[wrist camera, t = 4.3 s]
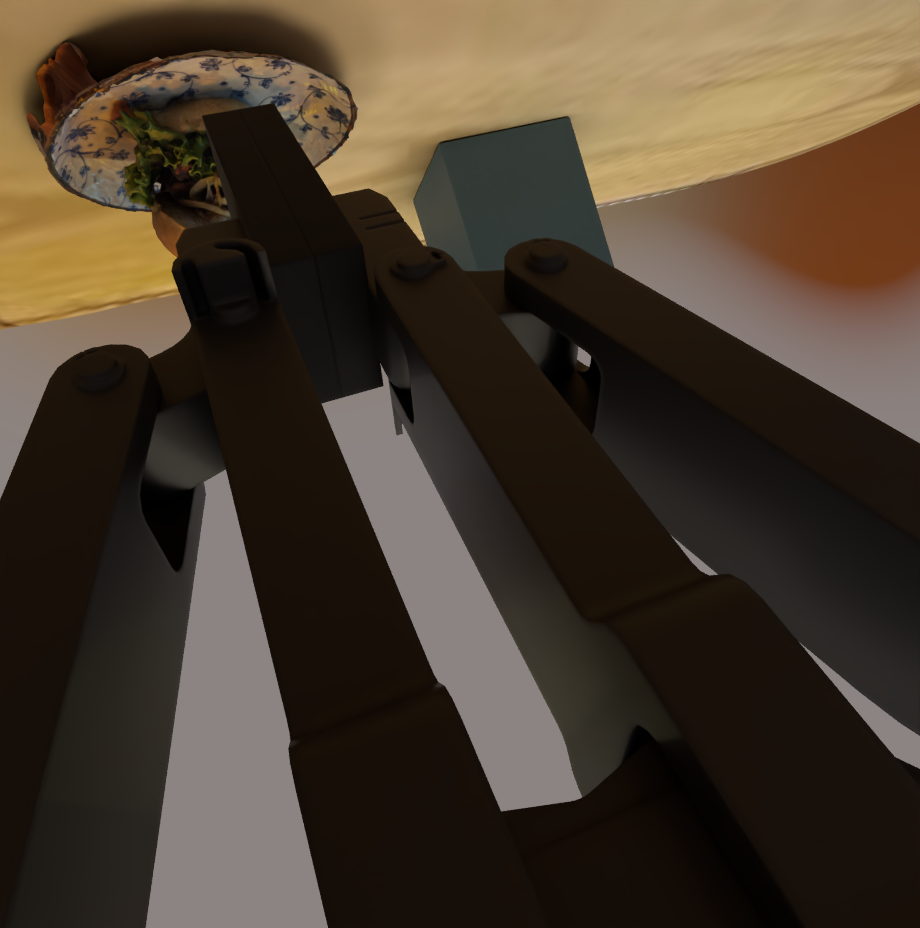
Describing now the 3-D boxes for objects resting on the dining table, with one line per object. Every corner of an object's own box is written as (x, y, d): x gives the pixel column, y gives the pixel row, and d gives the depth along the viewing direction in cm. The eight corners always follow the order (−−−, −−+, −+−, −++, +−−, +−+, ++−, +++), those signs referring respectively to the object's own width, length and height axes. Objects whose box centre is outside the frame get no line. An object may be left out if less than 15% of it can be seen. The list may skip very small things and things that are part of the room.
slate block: (412, 200, 46) (453, 333, 46) (438, 142, 38) (488, 303, 38) (523, 176, 48) (562, 303, 48) (569, 115, 40) (615, 269, 40)
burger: (384, 100, 32) (433, 261, 32) (168, 198, 35) (216, 344, 35) (242, -59, 20) (322, 195, 20) (-62, 109, 23) (12, 329, 23)
